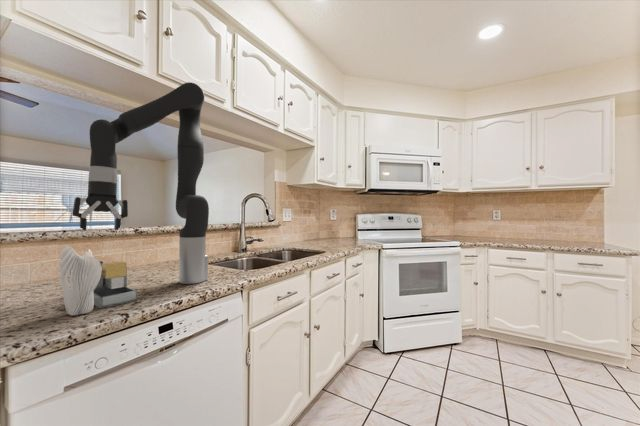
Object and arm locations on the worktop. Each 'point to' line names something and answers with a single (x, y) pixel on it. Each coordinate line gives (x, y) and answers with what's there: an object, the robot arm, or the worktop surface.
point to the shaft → (113, 281)
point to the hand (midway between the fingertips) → (100, 229)
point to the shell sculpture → (78, 280)
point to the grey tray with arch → (113, 294)
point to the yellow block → (113, 269)
